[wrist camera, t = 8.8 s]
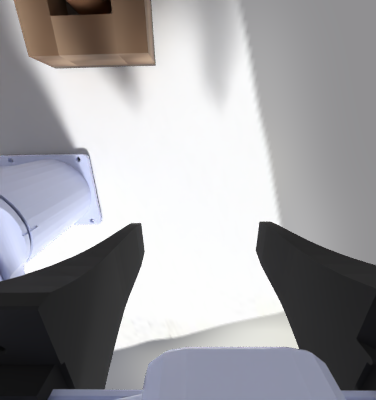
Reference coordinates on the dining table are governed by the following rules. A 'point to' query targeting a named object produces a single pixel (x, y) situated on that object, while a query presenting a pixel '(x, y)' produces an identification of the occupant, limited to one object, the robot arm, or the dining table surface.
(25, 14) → the hole block
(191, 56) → the dining table surface
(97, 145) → the dining table surface
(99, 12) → the pin
